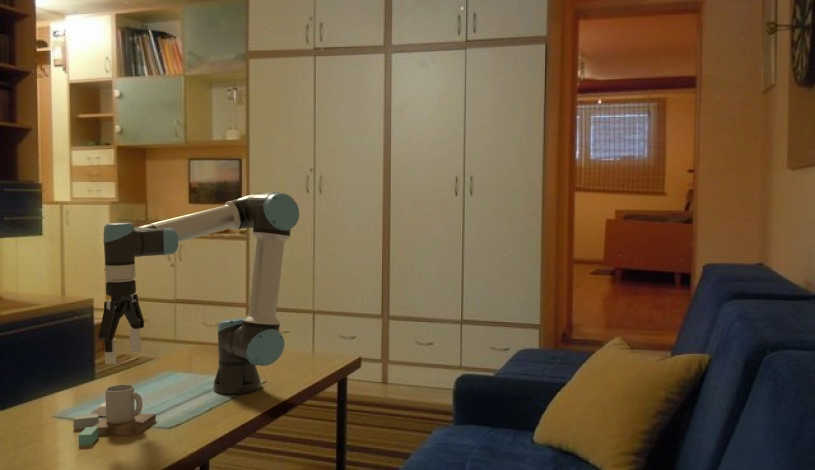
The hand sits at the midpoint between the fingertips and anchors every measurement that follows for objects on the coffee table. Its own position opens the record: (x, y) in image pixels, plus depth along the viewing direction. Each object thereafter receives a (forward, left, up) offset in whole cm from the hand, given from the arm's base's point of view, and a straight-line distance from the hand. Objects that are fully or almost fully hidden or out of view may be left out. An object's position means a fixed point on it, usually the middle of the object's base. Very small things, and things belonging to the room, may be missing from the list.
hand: (123, 357), depth 187 cm
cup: (0, 0, -18) cm, 18 cm away
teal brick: (+4, +11, -20) cm, 23 cm away
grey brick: (+11, 0, -20) cm, 23 cm away
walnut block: (0, 0, -19) cm, 19 cm away
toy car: (+10, -11, -20) cm, 25 cm away
